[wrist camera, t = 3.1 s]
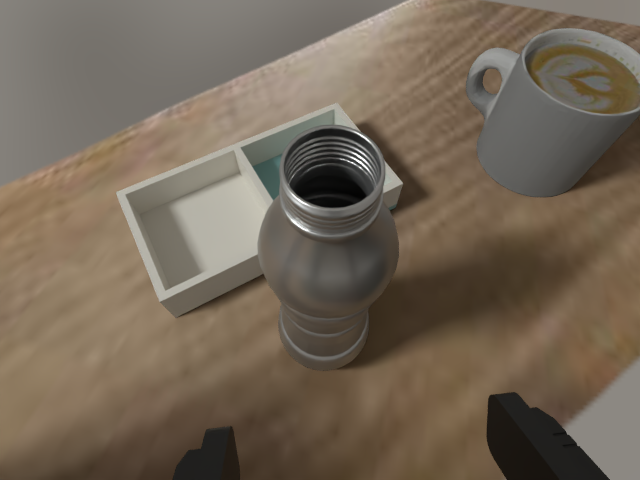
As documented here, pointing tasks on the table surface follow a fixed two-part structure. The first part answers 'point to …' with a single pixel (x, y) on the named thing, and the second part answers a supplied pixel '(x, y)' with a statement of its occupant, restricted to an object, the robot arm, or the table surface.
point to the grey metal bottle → (328, 244)
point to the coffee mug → (554, 108)
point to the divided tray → (217, 214)
